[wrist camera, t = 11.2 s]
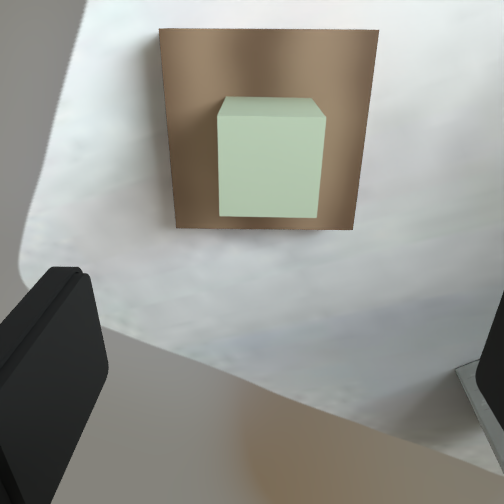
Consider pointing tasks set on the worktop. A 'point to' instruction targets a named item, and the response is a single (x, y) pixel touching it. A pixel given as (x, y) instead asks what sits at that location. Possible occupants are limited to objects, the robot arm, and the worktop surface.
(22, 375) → the robot arm
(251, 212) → the sage block
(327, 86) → the walnut plinth
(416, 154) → the worktop surface
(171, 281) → the worktop surface
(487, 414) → the skincare box
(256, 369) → the worktop surface
